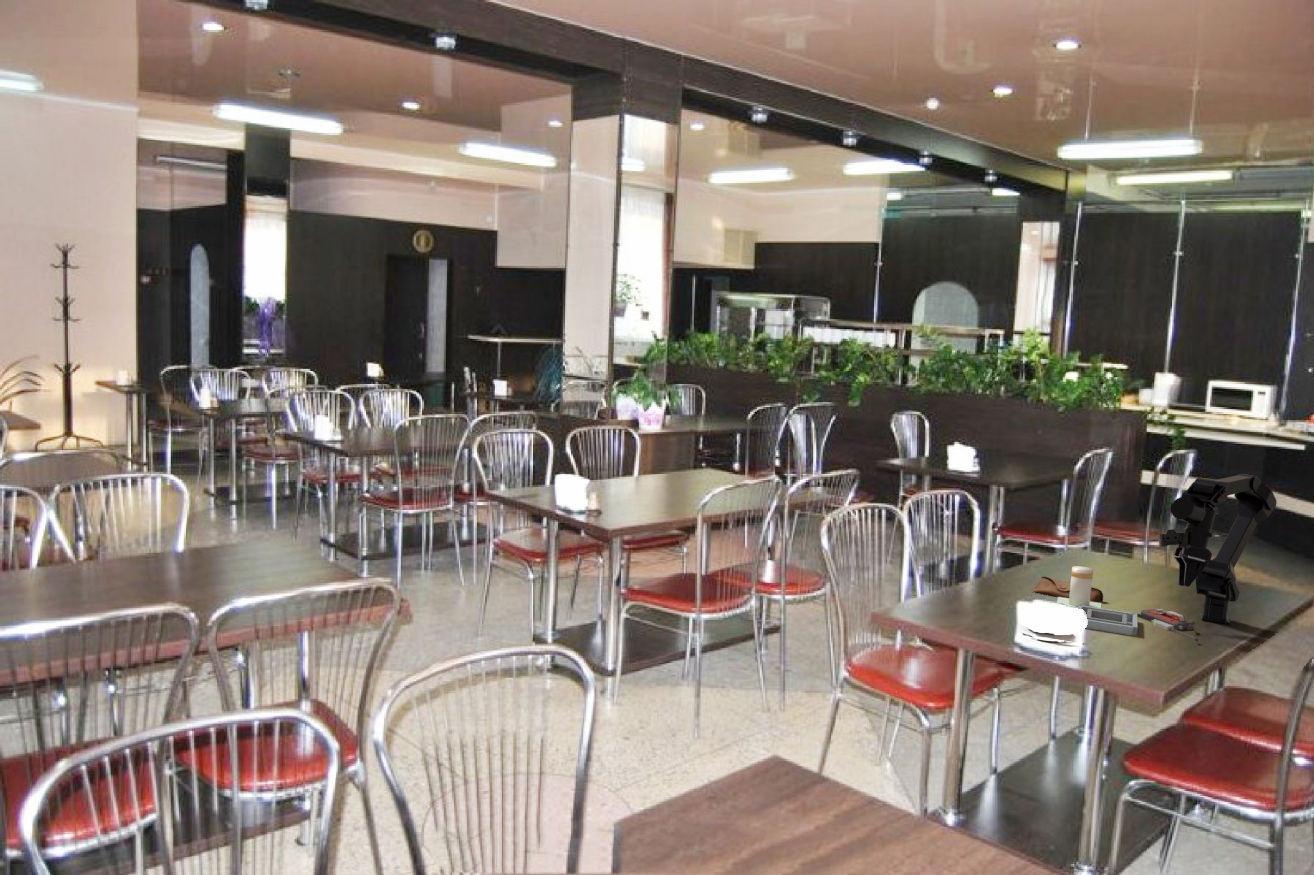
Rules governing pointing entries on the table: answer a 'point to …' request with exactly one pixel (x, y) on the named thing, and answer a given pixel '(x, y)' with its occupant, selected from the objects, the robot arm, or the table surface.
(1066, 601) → the mat
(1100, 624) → the grey square tray
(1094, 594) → the sunglasses case
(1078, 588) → the white banded cylinder
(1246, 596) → the table surface
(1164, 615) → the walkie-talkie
